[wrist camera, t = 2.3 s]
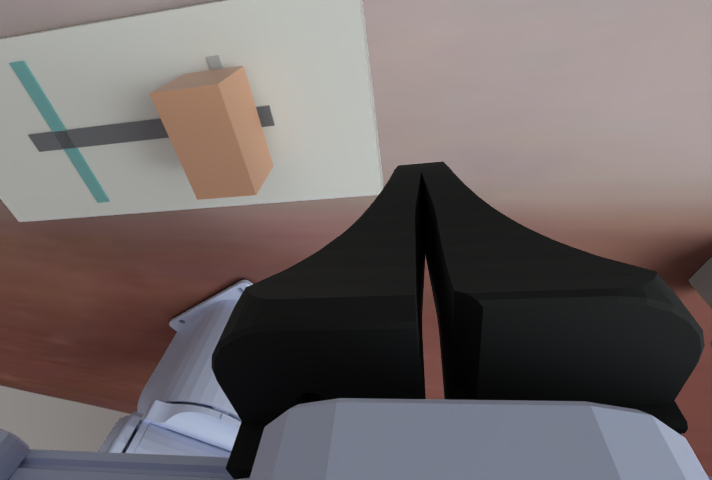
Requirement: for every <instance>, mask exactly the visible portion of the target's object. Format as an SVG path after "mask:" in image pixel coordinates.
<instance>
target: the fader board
mask: <svg viewBox="0 0 712 480" xmlns="http://www.w3.org/2000/svg"><path fill="white" fill-rule="evenodd" d="M238 66H244V69H245V72H246V76H247V79H248V82H249V86H250V89H251V92H252V96H253V99H254V102H255V106H256V109H257V112H258V116H259V119H260V123H261V126H262V129H263V133H264V136H265V139H266V143H267V146H268V149H269V153H270V156H271V160H272V163H273V168H272V170H271V171H270V173H269V175H268V176H267V178H266V180H265V181H264V183H263V185H262V186H261V188H260V190H259V191H258V193H257V195H251V196H238V197H226V198H214V199H201V200H197V198H196V196H195V194H194V191H193V189H192V187H191V185H190V182H189V180H188V178H187V176H186V174H185V171H184V169H183V167H182V165H181V163H180V160H179V158H178V156H177V154H176V151H175V149H174V147H173V145H172V143H171V140H170V138H169V136H168V134H167V132H166V129H165V127H164V125H163V123H162V121H161V118H160V116H159V114H158V112H157V109H156V107H155V105H154V103H153V101H152V98H151V96H150V94H149V93H151V92H153V91H154V90H156V89H158V88H160V87H161V86H163V85H165V84H167V83H169V82H170V81H172V80H174V79H176V78H177V77H179V76H181V75H183V74H188V73H195V72H202V71H209V70H217V69H224V68H231V67H238ZM382 190H383V173H382V165H381V156H380V147H379V138H378V130H377V121H376V112H375V104H374V95H373V86H372V78H371V69H370V60H369V52H368V43H367V34H366V25H365V17H364V8H363V0H219V1H213V2H207V3H202V4H196V5H190V6H184V7H178V8H173V9H167V10H161V11H155V12H149V13H144V14H138V15H132V16H126V17H121V18H115V19H109V20H103V21H97V22H92V23H86V24H80V25H74V26H69V27H63V28H57V29H51V30H45V31H40V32H34V33H28V34H22V35H16V36H11V37H5V38H0V199H1V200H2V201H3V203H4V204H5V205H6V206H7V208H8V209H9V210H10V211H11V213H12V214H13V215H14V216H15V218H16V219H17V220H18V221H19V222H28V221H41V220H54V219H67V218H80V217H93V216H107V215H120V214H133V213H146V212H159V211H172V210H185V209H198V208H212V207H225V206H238V205H251V204H264V203H277V202H290V201H303V200H316V199H330V198H343V197H356V196H369V195H379V194H380V192H381V191H382Z"/></svg>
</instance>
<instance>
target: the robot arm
mask: <svg viewBox="0 0 712 480" xmlns="http://www.w3.org/2000/svg"><path fill="white" fill-rule="evenodd" d="M425 254H426V260H427V265H428V270H429V276H430V281H431V286H432V291H433V297H434V302H435V307H436V312H437V319H438V326H439V335H440V347H441V359H442V372H443V384H444V397H445V399H425V379H424V360H423V340H422V307H423V288H424V269H425ZM240 288H241V289H240ZM169 325H170V327H171V328H173V329H174V330H176V331H177V333H176V335H175V336H174V338H173V340H172V341H171V343H170V345H169V346H168V348H167V350H166V351H165V353H164V355H163V356H162V358H161V360H160V361H159V363H158V365H157V367H156V368H155V370H154V372H153V373H152V375H151V377H150V378H149V380H148V382H147V383H146V385H145V387H144V388H143V390H142V393H141V395H140V398H139V401H138V408H137V412H132V413H131V414H130V416H125V417H123V418H121V419H119V420H118V422H117V423H116V425H115V426H114V427H113V429H112V431H111V432H110V433H109V435H108V437H107V438H106V440H105V441H104V443H103V445H102V446H101V448H100V450H99V451H98V452H85V451H60V450H34V449H29V446H28V445H27V444H26V443H25V442H24V441H22V440H21V439H20V438H19V437H17V436H16V435H14V434H12V433H10V432H8V431H5V430H2V429H0V480H712V477H708V476H707V475H706V473H705V471H704V469H703V468H702V466H701V464H700V462H699V461H698V459H697V457H696V456H695V454H694V452H693V450H692V449H691V447H690V445H689V443H688V442H687V440H686V438H685V437H683V436H682V434H681V433H685V432H686V431H687V429H688V426H687V421H686V420H685V418H684V416H683V415H682V413H681V411H680V410H679V408H678V406H677V405H676V403H675V401H674V400H675V398H676V397H677V395H678V394H679V392H680V390H681V389H682V387H683V386H684V384H685V382H686V381H687V379H688V378H689V376H690V374H691V373H692V371H693V370H694V368H695V366H696V365H697V363H698V362H699V359H700V356H701V354H702V351H703V349H704V346H705V345H704V337H703V330H702V328H701V327H700V326H699V324H698V323H697V322H696V320H695V319H694V318H693V316H692V315H691V314H690V312H689V311H688V310H687V308H686V307H685V306H684V304H683V303H682V302H681V300H680V299H679V298H678V296H677V295H676V294H675V292H674V291H673V290H672V289H671V288H670V287H669V286H668V284H667V283H666V282H665V281H664V280H663V279H662V278H661V277H660V276H659V275H658V274H657V272H656V271H652V270H648V269H644V268H641V267H637V266H633V265H629V264H626V263H622V262H618V261H614V260H611V259H607V258H603V257H600V256H596V255H593V254H590V253H588V252H585V251H582V250H579V249H576V248H573V247H570V246H567V245H565V244H562V243H560V242H557V241H555V240H552V239H550V238H548V237H546V236H543V235H541V234H539V233H537V232H535V231H533V230H530V229H528V228H526V227H524V226H522V225H521V224H519V223H517V222H515V221H513V220H512V219H510V218H508V217H507V216H505V215H503V214H502V213H500V212H499V211H497V210H496V209H494V208H493V207H491V206H490V205H489V204H487V203H486V202H485V201H483V200H482V199H481V198H479V197H478V196H477V195H476V194H475V193H474V192H473V191H471V190H470V189H469V188H468V187H467V186H466V185H465V184H464V183H463V182H462V181H461V180H460V179H459V178H458V177H457V176H456V175H455V174H454V173H453V172H452V170H451V169H450V168H449V167H448V166H447V165H446V164H445V163H444V162H434V163H423V164H411V165H400V166H398V167H397V168H396V169H395V170H394V172H393V174H392V176H391V177H390V179H389V181H388V182H387V184H386V185H385V187H384V188H383V190H382V191H381V192H380V194H379V195H378V197H377V198H376V199H375V201H374V202H373V203H372V204H371V205H370V207H369V208H368V209H367V210H366V211H365V212H364V214H363V215H362V216H361V217H360V218H359V219H358V220H357V221H356V222H355V223H354V224H353V225H352V226H351V227H350V228H349V229H347V230H346V231H345V232H344V233H343V234H341V235H340V236H339V237H337V238H336V239H335V240H333V241H332V242H330V243H329V244H328V245H326V246H325V247H324V248H322V249H321V250H319V251H318V252H316V253H315V254H313V255H311V256H310V257H308V258H306V259H305V260H303V261H301V262H299V263H297V264H296V265H294V266H292V267H290V268H288V269H286V270H284V271H282V272H280V273H278V274H275V275H273V276H271V277H269V278H266V279H264V280H262V281H260V282H257V283H255V284H252V283H251V282H250V281H248V280H241V281H239V282H237V283H236V284H234V285H232V286H230V287H228V288H227V289H225V290H223V291H221V292H220V293H218V294H216V295H214V296H212V297H211V298H209V299H207V300H205V301H203V302H202V303H200V304H198V305H196V306H195V307H193V308H191V309H189V310H187V311H186V312H184V313H182V314H180V315H179V316H177V317H175V318H173V319H172V320H171V321H170V323H169Z"/></svg>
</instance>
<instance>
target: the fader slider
mask: <svg viewBox="0 0 712 480" xmlns="http://www.w3.org/2000/svg"><path fill="white" fill-rule="evenodd" d="M149 94H150V96H151V98H152V101H153V103H154V105H155V107H156V109H157V112H158V114H159V116H160V118H161V121H162V123H163V125H164V127H165V129H166V132H167V134H168V136H169V138H170V140H171V143H172V145H173V147H174V149H175V151H176V154H177V156H178V158H179V160H180V163H181V165H182V167H183V169H184V171H185V174H186V176H187V178H188V180H189V182H190V185H191V187H192V189H193V191H194V194H195V196H196V198H197V200H201V199H214V198H226V197H238V196H251V195H257V193H258V191H259V190H260V188H261V186H262V185H263V183H264V181H265V180H266V178H267V176H268V175H269V173H270V171H271V170H272V168H273V163H272V160H271V156H270V153H269V149H268V146H267V143H266V139H265V136H264V133H263V129H262V126H261V123H260V119H259V116H258V112H257V109H256V106H255V102H254V99H253V96H252V92H251V89H250V86H249V82H248V79H247V76H246V72H245V69H244V66H238V67H231V68H224V69H217V70H209V71H202V72H195V73H188V74H183V75H181V76H179V77H177V78H176V79H174V80H172V81H170V82H169V83H167V84H165V85H163V86H161V87H160V88H158V89H156V90H154V91H153V92H151V93H149Z"/></svg>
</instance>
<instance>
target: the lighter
mask: <svg viewBox="0 0 712 480" xmlns="http://www.w3.org/2000/svg"><path fill="white" fill-rule="evenodd" d="M688 281H689V283H690V284H691V285H692V286H693V288H694V289H695V290H696V291H697V292H698V293H699V295H700V296H701V297H702V298H703V299H704V300H705V302H706V303H707V304H708V305H709V306H710V307H711V309H712V257H711V258H710V259H709V260H708V261H707V262H706V263H705V264H704V265H703V266H702V267H701V268H700V269H699V270H698V271H697V272H696V273H695V274H694V275H693V276H692V277H691V278H690V279H689V280H688ZM710 343H711V347H712V341H711V342H710Z"/></svg>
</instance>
